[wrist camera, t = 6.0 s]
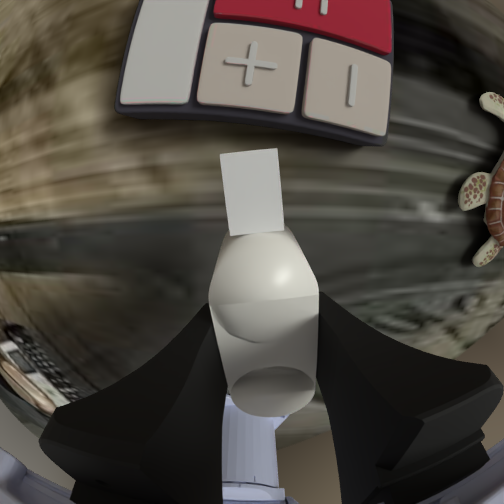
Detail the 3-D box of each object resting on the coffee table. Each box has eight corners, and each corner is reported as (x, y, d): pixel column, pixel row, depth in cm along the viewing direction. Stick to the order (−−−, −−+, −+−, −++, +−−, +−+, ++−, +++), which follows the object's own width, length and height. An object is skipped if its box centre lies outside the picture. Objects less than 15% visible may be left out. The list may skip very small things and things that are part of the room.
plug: (300, 355, 13) (313, 412, 9) (239, 361, 13) (237, 419, 9) (290, 147, 9) (312, 145, 6) (206, 156, 9) (184, 159, 6)
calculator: (394, 148, 12) (106, 112, 11) (360, 147, 16) (134, 119, 15) (398, -5, 9) (150, -44, 7) (370, 17, 13) (164, -14, 11)
